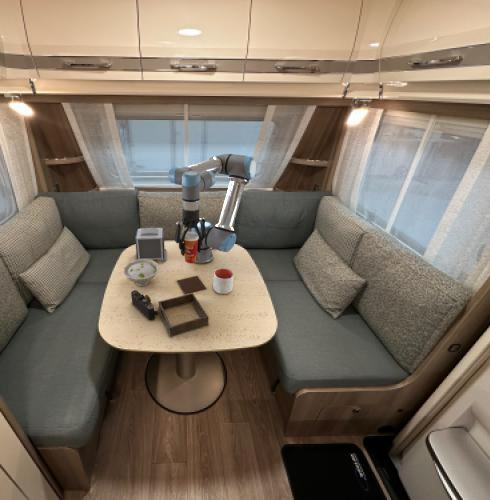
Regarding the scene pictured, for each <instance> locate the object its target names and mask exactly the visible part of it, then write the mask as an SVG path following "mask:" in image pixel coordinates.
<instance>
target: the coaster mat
mask: <svg viewBox="0 0 490 500" xmlns="http://www.w3.org/2000/svg"><path fill="white" fill-rule="evenodd" d="M177 284H178V285H179V287H180V289H181V290H182V292H183V293H184V295H187V294H191V293H196V292H200V291H203V290H206V289H207V288H206V286H205V284H204V283H203V282H202V280H201V279H200V277H199V276H198V275H195V276H190V277H186V278H181V279H177Z"/></svg>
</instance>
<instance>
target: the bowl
mask: <svg viewBox="0 0 490 500" xmlns="http://www.w3.org/2000/svg"><path fill="white" fill-rule="evenodd" d="M159 266H160V265H159V263H157V262H156V261H154V259H153V260H148V259H140V260H136V259H134V260H132V261H130V262H129V261H128V262H127V263H126V264H125V265H124V267H123V268H122V274H123V275H124V276H125V277H126V278H127V280H129V281H130V282H132V283H134V284H136V286H139V287H145V286H147V285H149V283H150V282H151V281H152V280H154V278H155V277H156V276H157V275H158V273H159V271H160V267H159Z"/></svg>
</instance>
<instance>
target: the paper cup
mask: <svg viewBox="0 0 490 500" xmlns="http://www.w3.org/2000/svg"><path fill="white" fill-rule="evenodd" d="M198 239H199V236H198V234H197V233H196V232H191V231H187V233H186V236H185V238H184V241H183V243H184V256H183V257H184V262H185V263H188V264H195V263H194V262H195V261H196V257H197V246H198Z"/></svg>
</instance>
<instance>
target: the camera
mask: <svg viewBox="0 0 490 500" xmlns="http://www.w3.org/2000/svg"><path fill="white" fill-rule="evenodd" d="M130 297H131V302H132V303H131V305H133V307H134V308H136V310H138V311H139V312H140V313H141V314H142V315H143V316H144V317H145V318H146V319H147V320H149V321H154V320H155V319H156V316H158V315H159V310H155V305H154V304H153V303H152V299H151V296H150V295H149V294H145V295H144V294H143V293H141V292H139V291H138V290H137V289H134V290H132V291H131V292H130Z"/></svg>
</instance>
